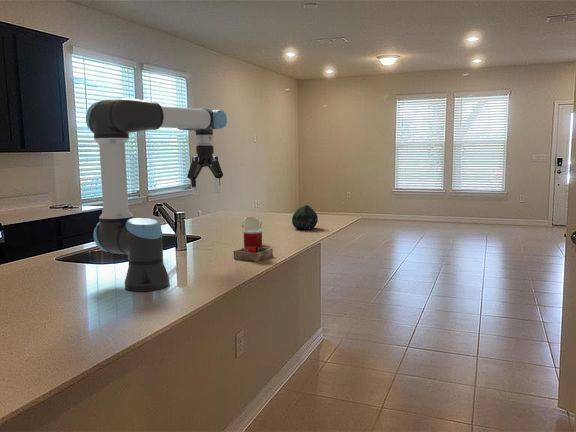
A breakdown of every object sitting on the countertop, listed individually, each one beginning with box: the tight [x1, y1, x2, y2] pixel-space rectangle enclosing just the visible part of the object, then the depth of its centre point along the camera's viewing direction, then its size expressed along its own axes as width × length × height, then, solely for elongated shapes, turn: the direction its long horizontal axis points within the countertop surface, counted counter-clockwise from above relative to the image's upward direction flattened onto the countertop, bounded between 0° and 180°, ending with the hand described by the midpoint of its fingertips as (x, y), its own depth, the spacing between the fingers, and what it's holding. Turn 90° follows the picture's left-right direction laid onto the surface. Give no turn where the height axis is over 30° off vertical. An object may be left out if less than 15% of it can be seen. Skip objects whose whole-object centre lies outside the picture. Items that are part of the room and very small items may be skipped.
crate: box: [232, 246, 274, 263], centre depth 216 cm, size 12×12×4 cm
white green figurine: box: [240, 216, 263, 231], centre depth 249 cm, size 11×7×13 cm, turn 73°
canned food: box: [243, 229, 263, 253], centre depth 216 cm, size 8×8×11 cm
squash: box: [291, 204, 319, 230], centre depth 291 cm, size 14×15×15 cm
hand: (206, 193), depth 219 cm, fingers open, 13 cm apart
